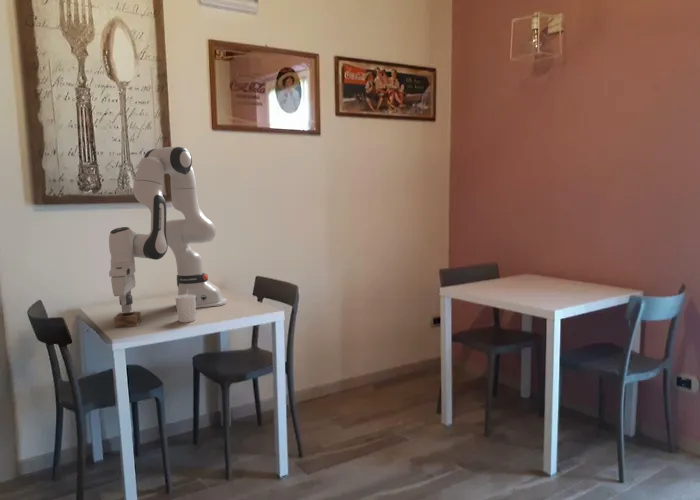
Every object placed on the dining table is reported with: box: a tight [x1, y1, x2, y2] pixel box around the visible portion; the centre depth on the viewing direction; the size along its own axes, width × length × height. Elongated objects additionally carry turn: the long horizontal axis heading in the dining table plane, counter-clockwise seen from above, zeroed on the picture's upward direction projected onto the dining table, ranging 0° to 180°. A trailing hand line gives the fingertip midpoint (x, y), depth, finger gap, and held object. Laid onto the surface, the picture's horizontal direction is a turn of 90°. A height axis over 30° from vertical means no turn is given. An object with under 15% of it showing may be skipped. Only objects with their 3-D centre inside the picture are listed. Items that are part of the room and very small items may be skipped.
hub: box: [113, 311, 142, 328], centre depth 227 cm, size 8×8×4 cm
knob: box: [118, 294, 134, 313], centre depth 226 cm, size 5×5×6 cm
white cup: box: [175, 294, 197, 323], centre depth 229 cm, size 8×8×10 cm
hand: (126, 303), depth 226 cm, fingers closed on knob, 5 cm apart
